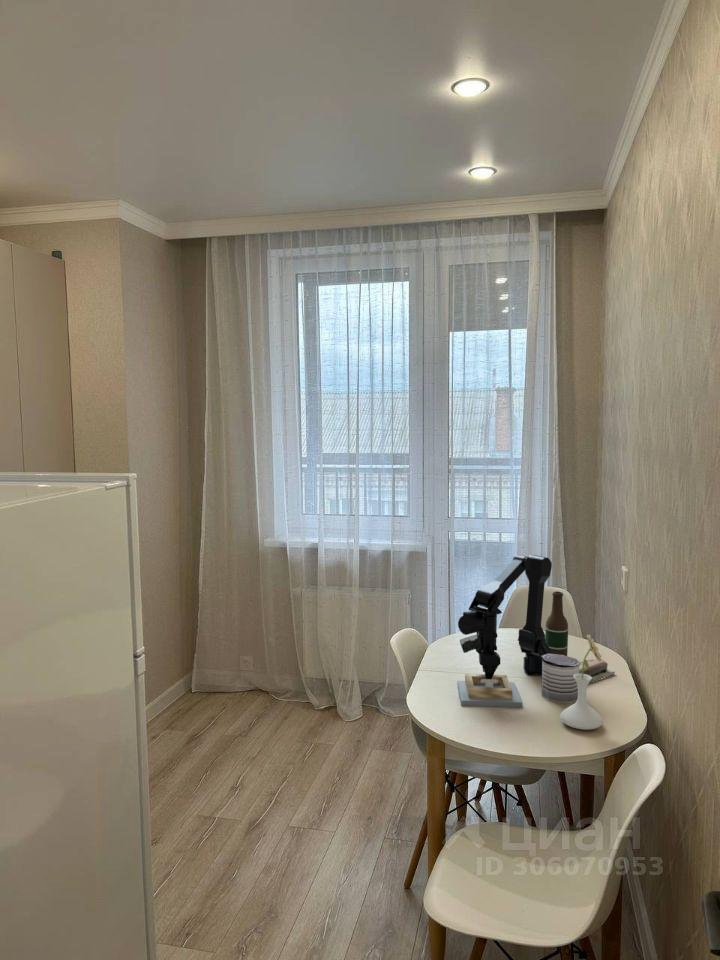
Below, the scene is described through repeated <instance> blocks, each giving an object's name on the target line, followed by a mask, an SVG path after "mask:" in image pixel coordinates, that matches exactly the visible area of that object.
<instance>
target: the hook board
mask: <svg viewBox="0 0 720 960" xmlns="http://www.w3.org/2000/svg"><path fill="white" fill-rule="evenodd" d="M481 683H485V684H474V687H478V688H502V685H501V684H496V683H498V680H496V679H481ZM493 683H494V684H493ZM509 683H510V686H511V688H512V699H509V698H478V697H468V692H467V687H466V683H465V680H457V685H458V686H457V685H456V686H457V691H458V697H459V701H460V706H465V707H466V706H469V707H494V706H499V708H500V707H501V708H523V700H522V699H521V696H520V695H521V694H520V692H519V691H518V688H517V686H516V683H515V682H510V681H509Z"/></svg>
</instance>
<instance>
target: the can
mask: <svg viewBox="0 0 720 960" xmlns="http://www.w3.org/2000/svg"><path fill="white" fill-rule="evenodd" d="M542 658H543V666H542V675H541V676H542V677H541V697H542V698H544V699H546V700H548V701H550V702H556V703H558V704H559V703H560V704H567V703H571V704H572V703H575V702H576V701H577V699H578V687H577V682H576V680H575V678H574V677H573V675H574V674H579V671H578V670H579V664H581V663H580V662H581V661H579V660H578V659H577V658H575V657H571V656H568V655H567V656H565V655H558V654H546V655H542Z"/></svg>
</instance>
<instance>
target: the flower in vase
mask: <svg viewBox="0 0 720 960" xmlns="http://www.w3.org/2000/svg"><path fill="white" fill-rule="evenodd" d="M586 639H587V642H588V645H589V649H588V650H587V652H586V654H585V655H584V658H583V661H582V662H583V668H582V669H580V670H578V671H582V674H574V675H573V677H574V678H575V680H576V682H577V687H578V699H577V700H576V701H575V702H574V703H573V704H572V705H569V706H568V707H566V708H564V710H563V711H561V713H560V715H559V717H560V720H561V721H562V722H563V724H565V725H566V726H569V727H570V728H574V729H576V730H577V729H578V730H583V731H585V730H586V731H589V730H596V729H599V728H600V727H601V726H602V725H603V724H604V720H603V718H602V716H601V715H600V714H599V713H598V712H597V710H595V709H594V708H593V707H592V706H591V705H589V704H588V701H587V700H588V699H587V690H588V686H589V684H590V683H589V682H590V680H591V679H592V677H591V676H590V675H587V674H583V672H584V671H585V670H587V669H588V668H589V665H588V662H587V660H588V659H587V658H588V657H587V656H588V655H589V654H590V652H591V653H592V654H593V656H594V657H595V659H597V660H598V661H602V660H603V659H602V655H601V654H600V652H599V647H598V646H597V645H596V643H595V640H594V639H593V638H592V636H591V634H587V635H586ZM586 659H587V660H586ZM584 665H585V667H586V668H587V669H586V668H584Z"/></svg>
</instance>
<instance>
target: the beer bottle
mask: <svg viewBox="0 0 720 960" xmlns="http://www.w3.org/2000/svg"><path fill="white" fill-rule="evenodd" d="M563 597H564V593H563V592H562V591H558V590H557V591H553V592H552V602H551V612H550V615H549V616H547V619H546V622H545V631H544V634H545V643H546V644H547V645H548V647H549V648H550V649H551V654H558V655H565V656H568V647H569V645H568V644H569V643H568V642H569V623H568V620H567V618H566V617H565V615H564V606H563Z"/></svg>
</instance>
